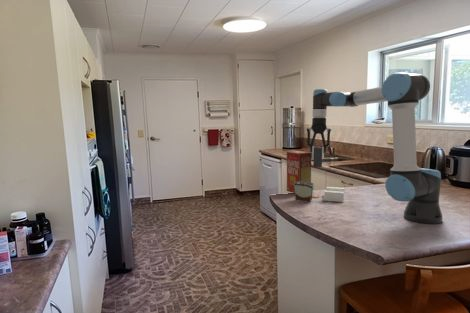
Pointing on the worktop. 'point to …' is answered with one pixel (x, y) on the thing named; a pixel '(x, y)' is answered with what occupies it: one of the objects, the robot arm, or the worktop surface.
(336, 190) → the socket block
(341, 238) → the worktop surface
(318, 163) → the dark gray rounded peg
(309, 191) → the food container
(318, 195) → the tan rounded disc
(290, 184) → the food packaging
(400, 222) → the worktop surface
